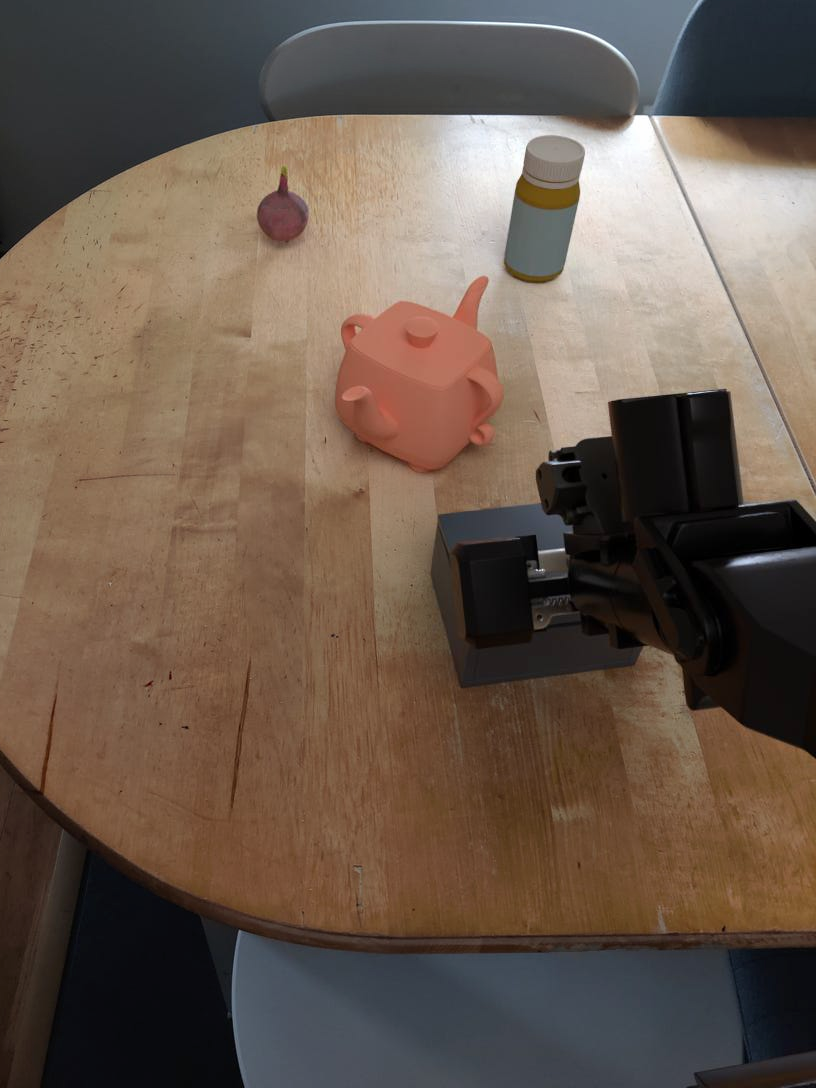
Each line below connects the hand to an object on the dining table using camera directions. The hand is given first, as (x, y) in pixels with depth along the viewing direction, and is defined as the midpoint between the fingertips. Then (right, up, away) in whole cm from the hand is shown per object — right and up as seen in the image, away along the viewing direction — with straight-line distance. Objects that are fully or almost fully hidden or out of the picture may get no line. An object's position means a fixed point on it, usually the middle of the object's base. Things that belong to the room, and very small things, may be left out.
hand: (560, 565), depth 62 cm
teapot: (-8, +10, +24) cm, 27 cm away
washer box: (0, -5, +9) cm, 10 cm away
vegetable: (-22, +33, +46) cm, 61 cm away
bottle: (+8, +29, +43) cm, 52 cm away
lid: (0, 0, +3) cm, 3 cm away
